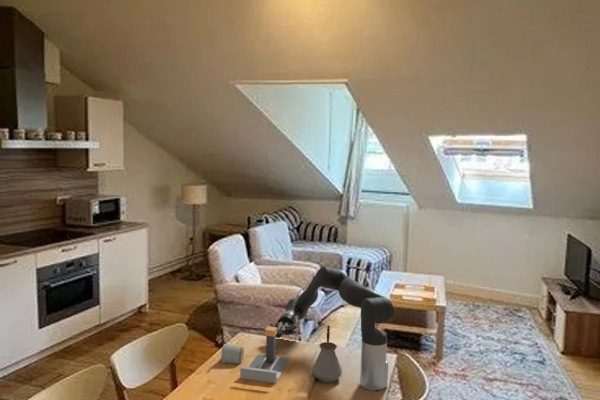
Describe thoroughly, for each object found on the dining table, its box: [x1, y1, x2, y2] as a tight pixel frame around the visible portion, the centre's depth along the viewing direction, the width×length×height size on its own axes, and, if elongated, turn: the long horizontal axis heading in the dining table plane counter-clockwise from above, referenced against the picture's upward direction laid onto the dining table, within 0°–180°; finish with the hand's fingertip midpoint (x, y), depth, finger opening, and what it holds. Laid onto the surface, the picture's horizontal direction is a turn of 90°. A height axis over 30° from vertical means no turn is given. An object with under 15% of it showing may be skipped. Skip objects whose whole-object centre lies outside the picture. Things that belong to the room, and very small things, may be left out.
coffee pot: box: [311, 324, 343, 383], centre depth 193 cm, size 21×12×15 cm, turn 176°
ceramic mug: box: [220, 343, 245, 365], centre depth 201 cm, size 11×8×8 cm
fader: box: [264, 325, 277, 363], centre depth 199 cm, size 4×4×13 cm
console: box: [239, 353, 291, 385], centre depth 194 cm, size 22×14×5 cm, turn 167°
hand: (277, 335), depth 208 cm, fingers closed
